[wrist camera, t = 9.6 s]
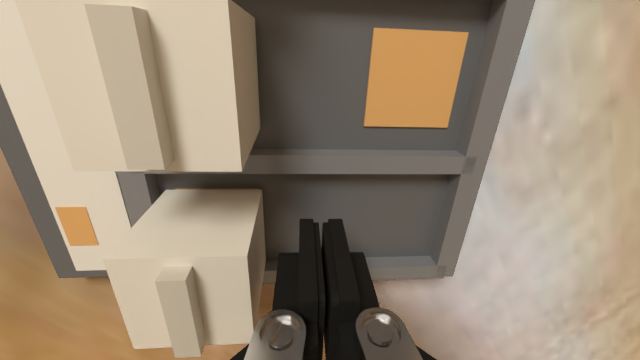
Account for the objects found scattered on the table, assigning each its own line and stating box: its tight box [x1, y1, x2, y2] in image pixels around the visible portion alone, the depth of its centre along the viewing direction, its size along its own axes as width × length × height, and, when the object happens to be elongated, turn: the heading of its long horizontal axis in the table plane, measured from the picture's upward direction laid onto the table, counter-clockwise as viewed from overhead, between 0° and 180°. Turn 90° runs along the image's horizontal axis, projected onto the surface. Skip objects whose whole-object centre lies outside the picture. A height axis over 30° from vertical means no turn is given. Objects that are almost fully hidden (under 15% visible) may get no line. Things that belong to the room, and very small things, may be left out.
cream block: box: [103, 189, 266, 358], centre depth 11 cm, size 4×4×5 cm
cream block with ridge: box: [15, 0, 260, 172], centre depth 8 cm, size 4×4×5 cm
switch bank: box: [0, 0, 535, 284], centre depth 11 cm, size 20×19×2 cm
